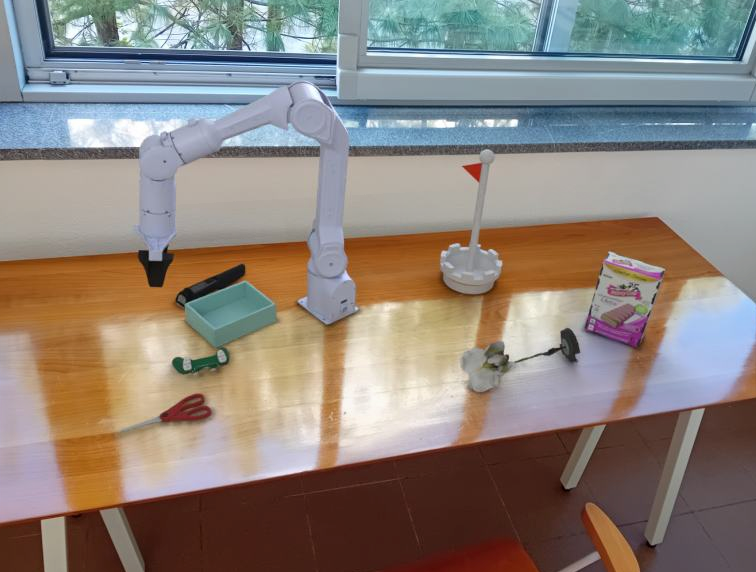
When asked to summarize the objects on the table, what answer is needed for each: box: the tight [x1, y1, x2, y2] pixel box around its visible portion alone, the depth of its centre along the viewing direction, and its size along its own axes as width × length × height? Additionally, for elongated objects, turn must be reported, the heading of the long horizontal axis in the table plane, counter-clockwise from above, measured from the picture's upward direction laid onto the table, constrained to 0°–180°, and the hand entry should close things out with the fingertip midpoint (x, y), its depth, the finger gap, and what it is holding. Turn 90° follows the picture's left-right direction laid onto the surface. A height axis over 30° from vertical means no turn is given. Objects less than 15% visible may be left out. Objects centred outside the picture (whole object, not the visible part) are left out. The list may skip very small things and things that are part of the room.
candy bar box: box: [584, 251, 666, 349], centre depth 141 cm, size 11×5×16 cm, turn 65°
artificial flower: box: [459, 327, 581, 393], centre depth 131 cm, size 9×22×10 cm, turn 110°
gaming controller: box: [171, 346, 230, 376], centre depth 124 cm, size 9×4×6 cm
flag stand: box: [439, 148, 503, 295], centre depth 149 cm, size 13×13×30 cm
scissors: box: [115, 393, 212, 434], centre depth 114 cm, size 5×14×1 cm, turn 123°
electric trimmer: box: [175, 263, 246, 309], centre depth 144 cm, size 4×16×3 cm, turn 142°
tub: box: [184, 279, 277, 349], centre depth 136 cm, size 10×13×4 cm
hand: (157, 274), depth 130 cm, fingers open, 7 cm apart
